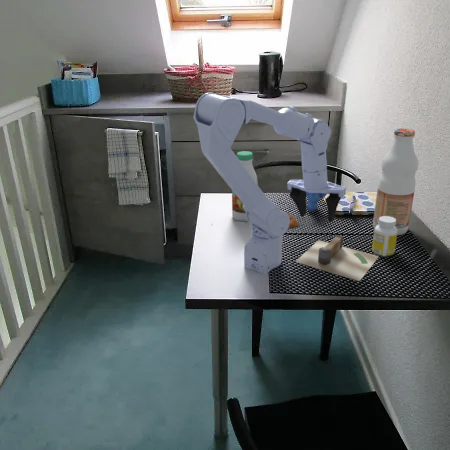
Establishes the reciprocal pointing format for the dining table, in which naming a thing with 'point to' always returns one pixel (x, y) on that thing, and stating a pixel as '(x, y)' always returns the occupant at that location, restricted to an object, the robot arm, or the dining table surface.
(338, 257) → the dial board
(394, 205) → the fruit juice
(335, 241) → the pointer lever
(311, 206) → the grapes
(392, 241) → the supplement bottle
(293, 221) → the pastry
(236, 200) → the milk bottle
